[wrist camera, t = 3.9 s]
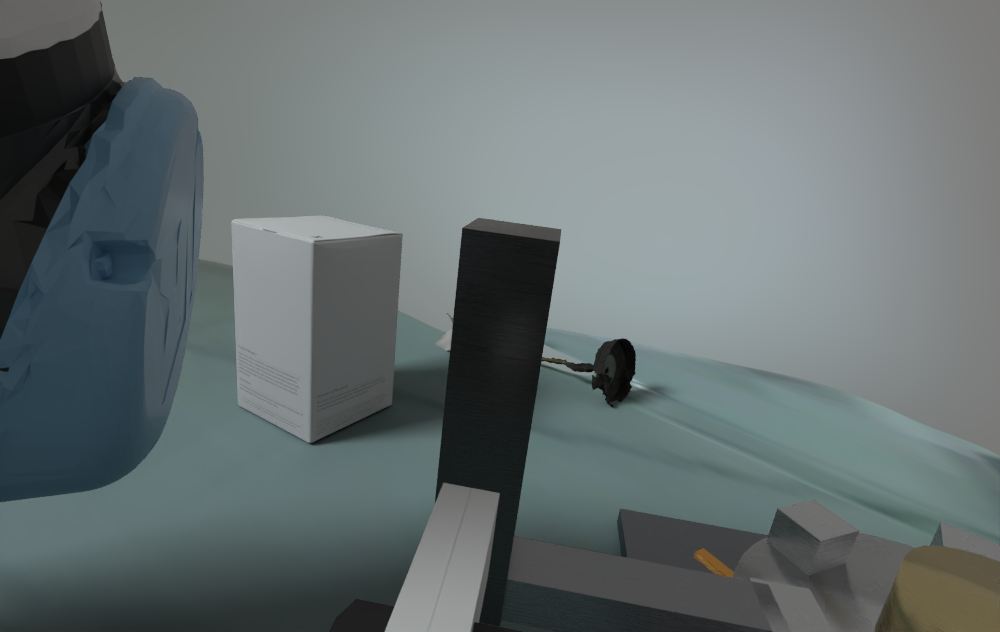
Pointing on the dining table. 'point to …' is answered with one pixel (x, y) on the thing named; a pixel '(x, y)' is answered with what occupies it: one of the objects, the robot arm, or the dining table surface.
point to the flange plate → (680, 541)
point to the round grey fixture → (609, 578)
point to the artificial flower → (595, 366)
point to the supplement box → (314, 320)
